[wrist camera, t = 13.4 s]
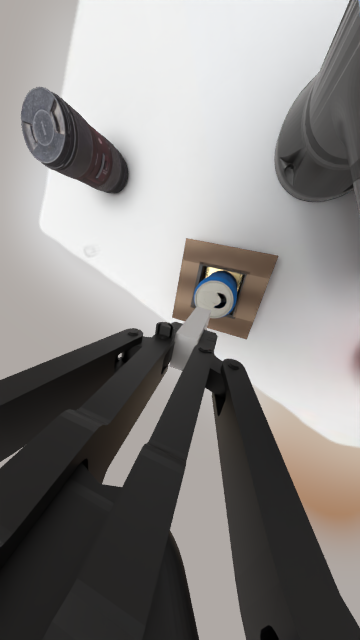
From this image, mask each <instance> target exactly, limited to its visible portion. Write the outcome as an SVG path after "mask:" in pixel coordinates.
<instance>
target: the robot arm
mask: <svg viewBox="0 0 360 640" xmlns="http://www.w3.org/2000/svg"><path fill="white" fill-rule="evenodd" d="M275 169H276V173H277V176H278V179H279V181H280V183H281V185H282V186H283V187H284V189H285V190H286V191H287V192H288V193H289V194H291V195H292V196H294V197H296V198H298V199H301V200H304V201H311V202H318V201H326V200H330V199H334V198H337V197H339V196H342V195H344V194H346V193H348V192H350V191H351V190H353V189H354V191H355V196H356V201H357V206H358V211H359V215H360V0H350V1H349V4H348V6H347V8H346V11H345V13H344V15H343V18H342V20H341V22H340V25H339V27H338V29H337V32H336V34H335V37H334V39H333V41H332V44H331V46H330V48H329V51H328V53H327V55H326V58H325V60H324V62H323V65H322V67H321V69H320V72H319V73H318V74H317V75H316V76H315V77H314V78H313V79H312V80H311V81H310V82H309V83H308V85H307V86H306V87H305V88H304V89H303V90H302V92H301V93H300V94H299V96H298V97H297V99H296V100H295V102H294V103H293V105H292V107H291V108H290V110H289V112H288V114H287V116H286V118H285V120H284V123H283V125H282V128H281V131H280V134H279V137H278V140H277V144H276V150H275ZM210 315H211V310H208V309H204V308H200V307H196V308H195V310H194V311H193V312H192V313H191V315H190V316H189V317H188V319H187V320H186V321H185V322H184V324H181V323H178V322H174V323H171V324H170V323H167V322H159V323H157V325H156V332H155V335H154V336H153V337H143V332H142V331H141V330H138V329H134V328H132V329H126V330H124V331H121V332H119V333H116V334H114V335H111V336H109V337H106V338H104V339H101V340H99V341H97V342H94V343H92V344H89V345H86V346H84V347H82V348H79V349H77V350H74V351H72V352H69V353H67V354H64V355H62V356H59V357H57V358H54V359H52V360H49V361H47V362H44V363H42V364H39V365H37V366H35V367H32V368H30V369H27V370H24V371H22V372H19V373H17V374H14V375H12V376H9V377H7V378H5V379H2V380H0V462H1V461H2V460H4V459H6V458H7V457H9V456H10V455H12V454H13V453H15V452H16V451H18V450H19V449H21V448H22V447H23V448H22V449H21V450H20V451H19V452H18V453H17V454H16V455H15V456H13V457H12V458H11V459H10V460H9V461H8V462H7V463H6V464H4V466H2V467H1V468H0V640H199V637H198V632H197V627H196V622H195V618H194V613H193V608H192V603H191V598H190V593H189V588H188V583H187V579H186V574H185V569H184V565H183V561H182V558H181V555H180V552H179V549H178V546H177V544H176V541H175V539H174V537H173V535H172V533H171V531H170V527H171V523H172V519H173V514H174V511H175V507H176V503H177V499H178V495H179V491H180V487H181V483H182V479H183V475H184V471H185V466H186V460H187V456H188V452H189V448H190V444H191V440H192V436H193V432H194V428H195V424H196V421H197V417H198V412H199V409H200V405H201V401H202V397H203V393H204V389H205V388H207V389H209V390H210V391H211V392H212V400H213V408H214V416H215V424H216V432H217V439H218V447H219V455H220V463H221V471H222V479H223V487H224V494H225V502H226V509H227V518H228V525H229V533H230V542H231V550H232V558H233V564H234V572H235V581H236V587H237V593H238V600H239V606H240V612H241V617H242V622H243V626H244V631H245V635H246V640H360V628H359V626H358V624H357V622H356V621H355V619H354V617H353V616H352V614H351V613H350V611H349V609H348V607H347V606H346V604H345V602H344V601H343V599H342V597H341V596H340V593H339V591H338V589H337V586H336V584H335V582H334V579H333V577H332V574H331V572H330V570H329V567H328V565H327V562H326V560H325V558H324V555H323V553H322V551H321V548H320V546H319V543H318V541H317V539H316V536H315V534H314V532H313V529H312V527H311V525H310V522H309V520H308V517H307V515H306V513H305V510H304V508H303V505H302V503H301V501H300V498H299V496H298V493H297V491H296V489H295V486H294V484H293V482H292V479H291V477H290V475H289V472H288V470H287V467H286V465H285V463H284V460H283V458H282V455H281V453H280V451H279V448H278V446H277V444H276V441H275V439H274V436H273V434H272V432H271V429H270V427H269V425H268V422H267V420H266V417H265V415H264V413H263V410H262V408H261V406H260V403H259V401H258V398H257V396H256V394H255V391H254V389H253V387H252V384H251V382H250V379H249V377H248V375H247V372H246V370H245V368H244V366H243V365H242V364H241V363H240V362H238V361H236V360H233V359H225V360H224V361H221V360H219V359H218V358H217V357H216V356H215V355H214V349H215V345H216V341H217V335H216V333H213V332H210V331H206V330H207V326H208V322H209V319H210ZM120 353H122V357H120V358H118V355H119V354H120ZM169 362H170V367H173V368H176V369H179V370H182V371H183V372H182V373H181V376H180V378H179V380H178V382H177V384H176V386H175V388H174V390H173V392H172V394H171V396H170V399H169V400H168V403H167V405H166V407H165V409H164V411H163V413H162V415H161V417H160V420H159V421H158V423H157V425H156V427H155V430H154V432H153V434H152V436H151V438H150V440H149V442H148V443H147V444H145V445H144V446H143V447H142V449H141V451H140V453H139V455H138V457H137V459H136V461H135V463H134V465H133V467H132V469H131V471H130V473H129V475H128V477H127V479H126V481H125V483H124V485H123V487H116V486H109V485H102V482H103V479H104V477H105V474H106V471H107V469H108V467H109V465H110V464H111V462H112V460H113V459H114V457H115V455H116V454H117V452H118V450H119V449H120V447H121V445H122V444H123V442H124V441H125V439H126V437H127V436H128V434H129V432H130V431H131V429H132V427H133V426H134V424H135V422H136V421H137V419H138V417H139V416H140V414H141V413H142V411H143V409H144V408H145V406H146V404H147V402H148V401H149V399H150V397H151V396H152V394H153V393H154V391H155V389H156V387H157V386H158V384H159V383H160V381H161V380H162V378H163V376H164V374H165V373H166V371H167V369H168V364H169ZM77 409H78V410H77Z"/></svg>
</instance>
